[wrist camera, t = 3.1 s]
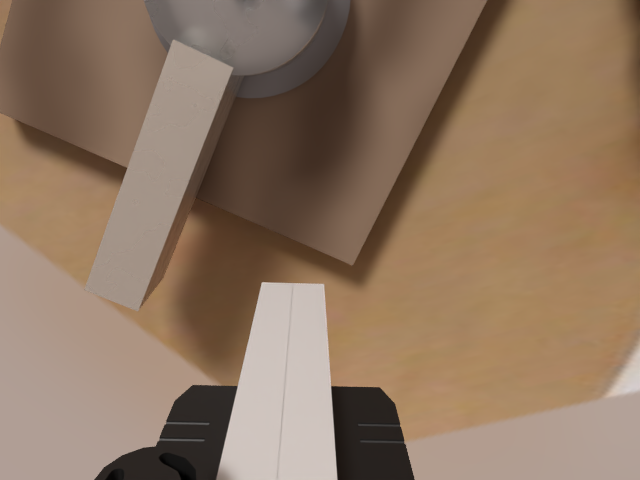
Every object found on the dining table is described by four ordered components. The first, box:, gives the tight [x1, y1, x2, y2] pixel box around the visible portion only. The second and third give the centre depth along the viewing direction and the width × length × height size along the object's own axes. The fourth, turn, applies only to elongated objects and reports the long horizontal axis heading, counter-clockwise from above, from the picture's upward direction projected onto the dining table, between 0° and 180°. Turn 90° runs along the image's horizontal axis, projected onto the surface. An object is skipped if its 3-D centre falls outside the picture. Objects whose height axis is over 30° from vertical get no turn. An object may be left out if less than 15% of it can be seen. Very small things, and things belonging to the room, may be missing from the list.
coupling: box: [84, 0, 328, 311], centre depth 22 cm, size 18×7×4 cm, turn 155°
